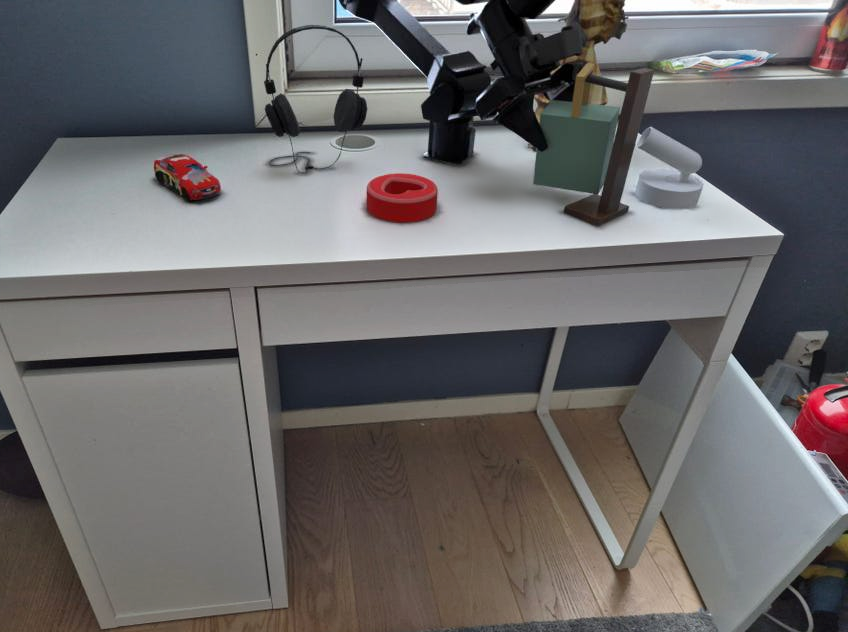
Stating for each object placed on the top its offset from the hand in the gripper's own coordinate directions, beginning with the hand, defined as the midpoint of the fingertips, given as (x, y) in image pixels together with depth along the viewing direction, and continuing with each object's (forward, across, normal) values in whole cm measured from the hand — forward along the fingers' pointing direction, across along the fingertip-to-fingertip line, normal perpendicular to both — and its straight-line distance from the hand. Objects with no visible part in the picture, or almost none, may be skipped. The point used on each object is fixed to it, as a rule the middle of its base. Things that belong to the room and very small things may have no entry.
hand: (562, 144), depth 89 cm
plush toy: (-5, +21, +16) cm, 27 cm away
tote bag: (+5, +1, +2) cm, 5 cm away
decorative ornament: (-2, -20, +13) cm, 24 cm away
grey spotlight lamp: (+12, +12, -2) cm, 18 cm away
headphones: (-17, -19, +28) cm, 38 cm away
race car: (-19, -39, +30) cm, 53 cm away
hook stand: (+9, 0, +2) cm, 9 cm away
